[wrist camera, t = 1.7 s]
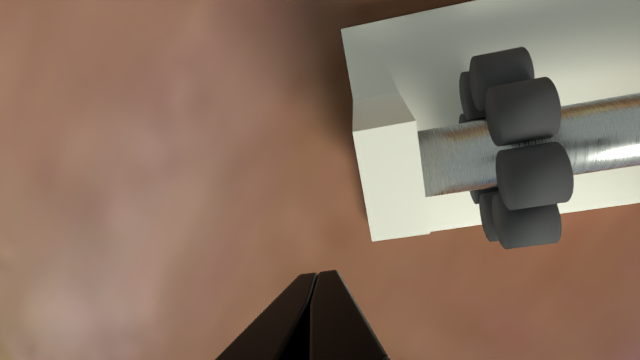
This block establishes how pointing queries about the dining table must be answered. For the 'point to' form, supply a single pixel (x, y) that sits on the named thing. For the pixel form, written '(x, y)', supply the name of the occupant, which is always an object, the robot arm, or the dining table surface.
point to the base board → (445, 105)
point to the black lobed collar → (518, 148)
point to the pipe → (574, 135)
